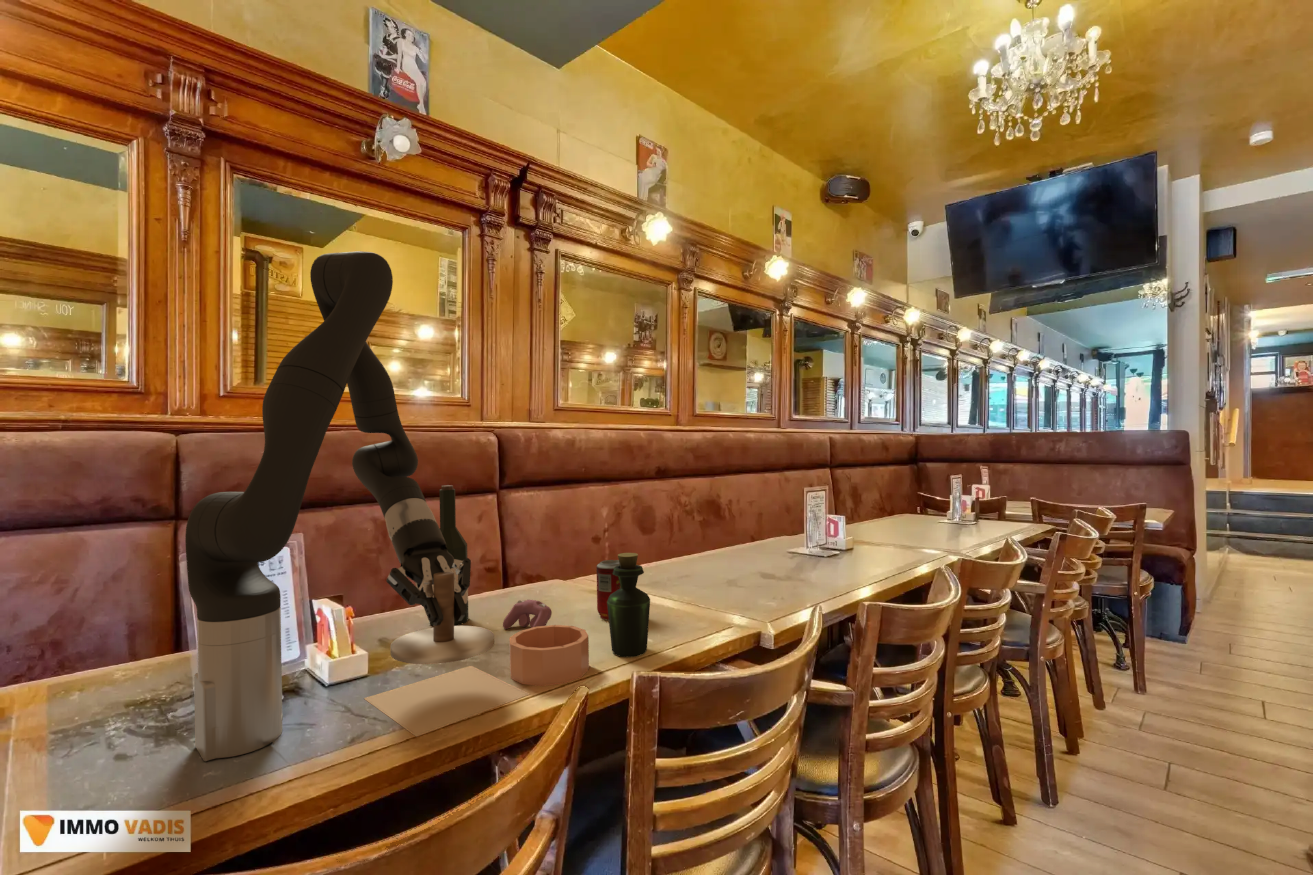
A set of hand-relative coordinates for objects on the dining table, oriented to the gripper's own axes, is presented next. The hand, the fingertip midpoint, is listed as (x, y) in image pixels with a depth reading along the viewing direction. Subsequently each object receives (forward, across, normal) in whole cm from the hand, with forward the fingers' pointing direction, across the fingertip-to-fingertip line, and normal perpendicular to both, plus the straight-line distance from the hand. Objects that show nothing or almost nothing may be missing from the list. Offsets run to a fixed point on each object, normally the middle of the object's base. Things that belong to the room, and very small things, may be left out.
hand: (450, 619), depth 92 cm
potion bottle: (+12, +34, +6) cm, 36 cm away
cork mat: (+7, +1, +10) cm, 13 cm away
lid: (+2, 0, +5) cm, 5 cm away
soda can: (-2, +47, +18) cm, 50 cm away
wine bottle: (-20, +21, +37) cm, 47 cm away
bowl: (+9, +18, +8) cm, 21 cm away
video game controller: (-7, +29, +24) cm, 39 cm away
